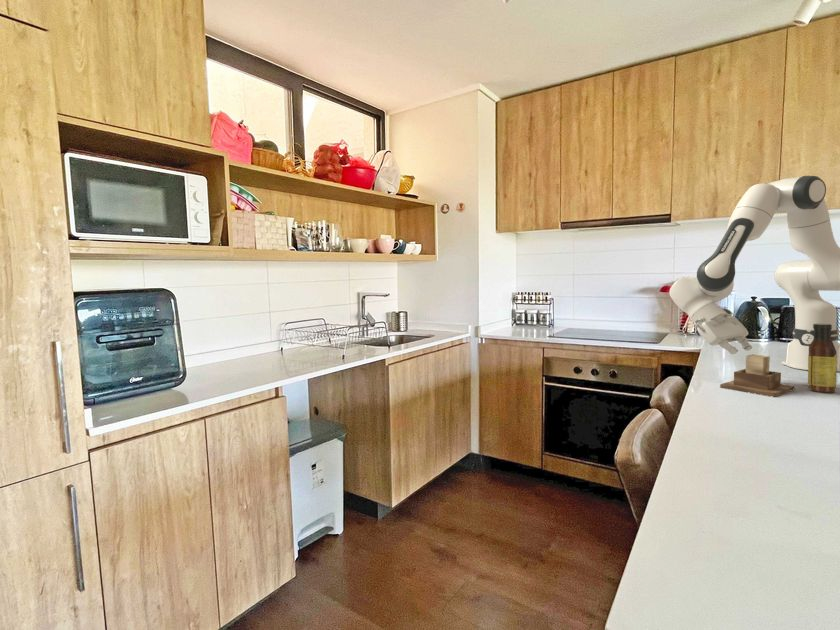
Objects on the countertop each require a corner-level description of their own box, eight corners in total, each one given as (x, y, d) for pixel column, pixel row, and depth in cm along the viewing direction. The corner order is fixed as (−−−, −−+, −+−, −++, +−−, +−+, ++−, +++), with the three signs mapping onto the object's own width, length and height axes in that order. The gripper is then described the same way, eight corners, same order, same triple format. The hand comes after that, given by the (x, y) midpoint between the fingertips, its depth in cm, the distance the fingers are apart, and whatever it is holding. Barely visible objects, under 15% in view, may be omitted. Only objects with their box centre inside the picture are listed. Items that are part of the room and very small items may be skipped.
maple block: (751, 382, 139) (752, 354, 139) (768, 385, 136) (769, 356, 135) (745, 384, 137) (746, 355, 136) (762, 387, 133) (763, 357, 133)
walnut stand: (741, 380, 146) (742, 365, 146) (794, 389, 134) (795, 373, 134) (720, 387, 139) (720, 371, 138) (774, 397, 127) (774, 379, 126)
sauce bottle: (842, 393, 129) (845, 324, 127) (819, 393, 129) (823, 325, 127) (822, 387, 135) (825, 322, 134) (801, 388, 135) (803, 323, 134)
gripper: (700, 313, 139) (734, 348, 132) (732, 309, 150) (765, 341, 142) (685, 327, 143) (717, 361, 136) (717, 322, 154) (749, 353, 146)
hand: (742, 351), depth 139 cm, fingers open, 8 cm apart
